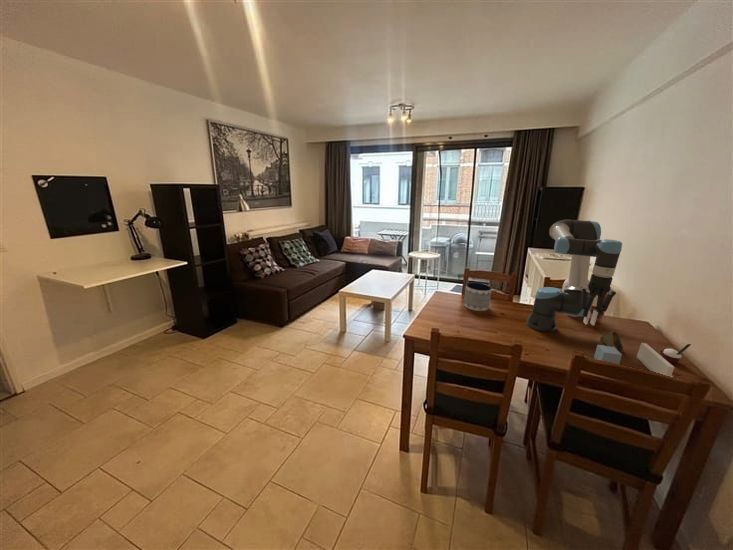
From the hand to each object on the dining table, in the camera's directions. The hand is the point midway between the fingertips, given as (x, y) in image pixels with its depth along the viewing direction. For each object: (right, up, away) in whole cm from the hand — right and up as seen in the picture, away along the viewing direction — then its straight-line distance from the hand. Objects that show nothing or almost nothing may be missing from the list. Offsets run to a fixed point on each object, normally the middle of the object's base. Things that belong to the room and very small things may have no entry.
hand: (588, 323), depth 139 cm
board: (+29, -21, -2) cm, 36 cm away
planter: (-29, +1, +63) cm, 69 cm away
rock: (+25, -15, +18) cm, 34 cm away
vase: (+29, -3, +55) cm, 63 cm away
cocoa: (+43, -19, +5) cm, 47 cm away
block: (+10, -19, +3) cm, 22 cm away
